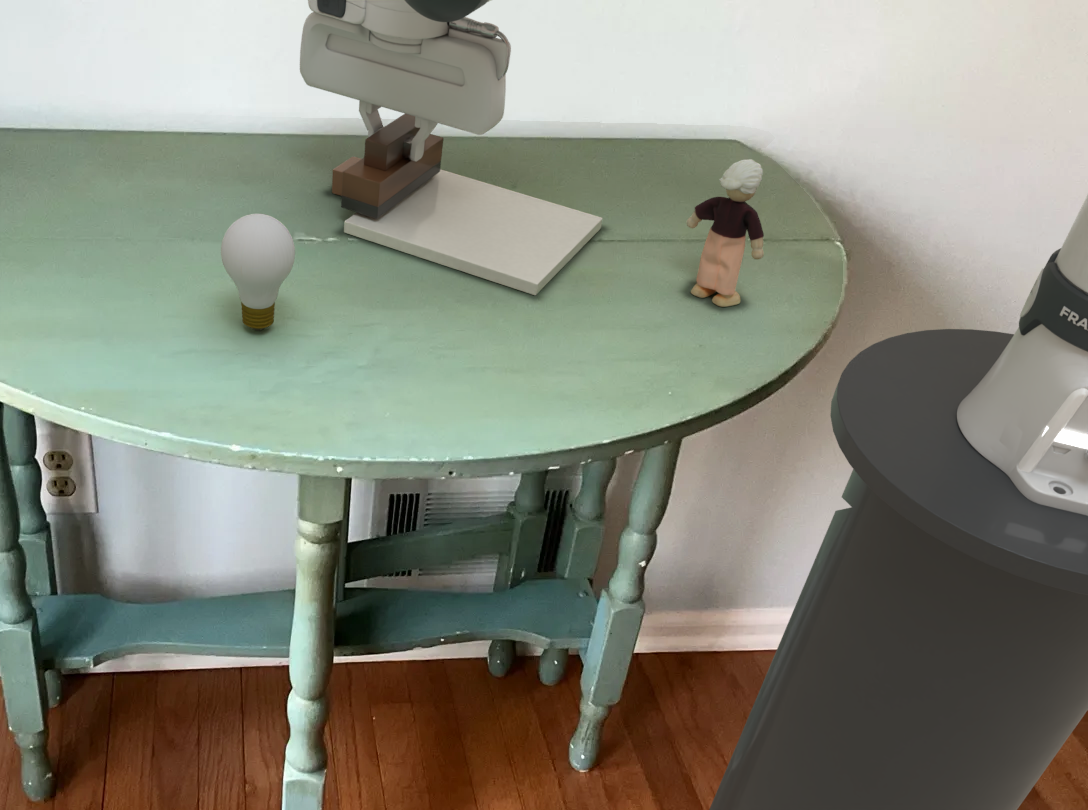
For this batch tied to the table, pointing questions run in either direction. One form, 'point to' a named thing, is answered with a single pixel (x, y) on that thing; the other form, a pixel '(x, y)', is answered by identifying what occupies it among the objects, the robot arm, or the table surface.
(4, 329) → the table surface
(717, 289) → the grandmother figurine
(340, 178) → the brown square block
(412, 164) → the brush
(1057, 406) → the robot arm
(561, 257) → the tile
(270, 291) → the light bulb
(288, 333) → the table surface
